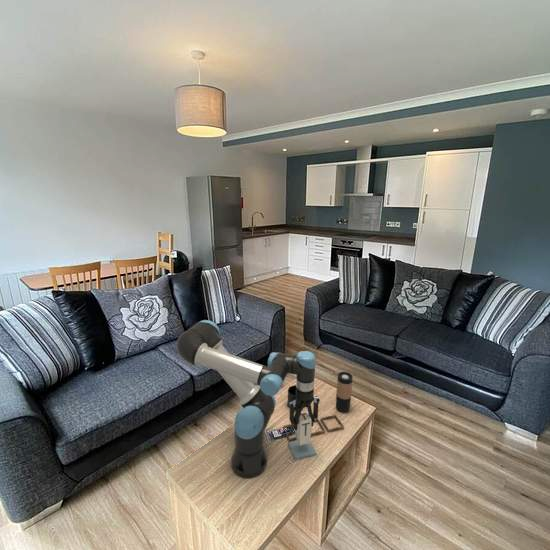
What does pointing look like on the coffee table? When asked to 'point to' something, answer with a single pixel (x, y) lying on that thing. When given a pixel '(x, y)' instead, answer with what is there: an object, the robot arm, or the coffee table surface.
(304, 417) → the letter block
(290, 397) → the mug
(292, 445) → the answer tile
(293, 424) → the wooden picture frame
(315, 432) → the wooden window frame
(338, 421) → the wooden frame right
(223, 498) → the coffee table surface
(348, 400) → the travel mug
